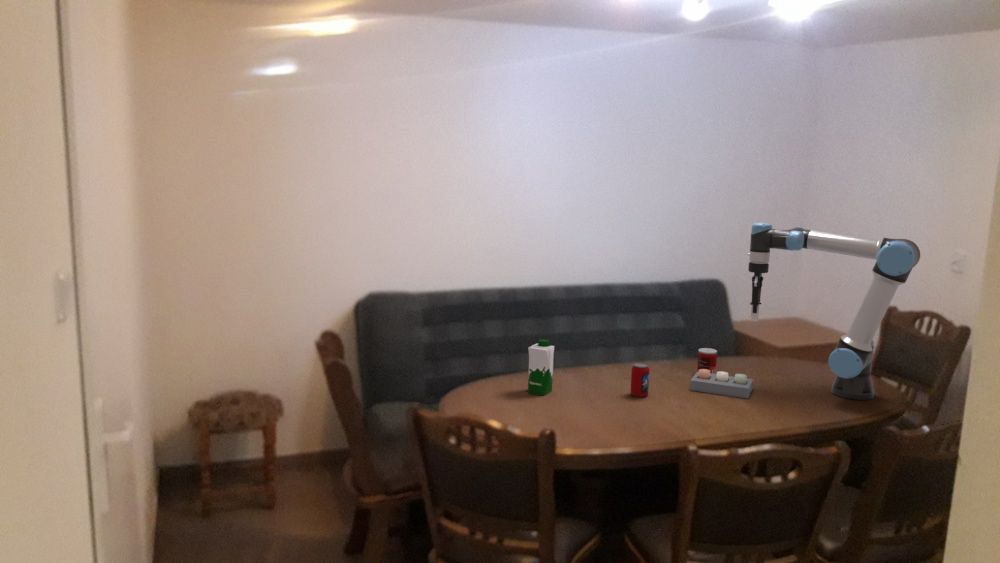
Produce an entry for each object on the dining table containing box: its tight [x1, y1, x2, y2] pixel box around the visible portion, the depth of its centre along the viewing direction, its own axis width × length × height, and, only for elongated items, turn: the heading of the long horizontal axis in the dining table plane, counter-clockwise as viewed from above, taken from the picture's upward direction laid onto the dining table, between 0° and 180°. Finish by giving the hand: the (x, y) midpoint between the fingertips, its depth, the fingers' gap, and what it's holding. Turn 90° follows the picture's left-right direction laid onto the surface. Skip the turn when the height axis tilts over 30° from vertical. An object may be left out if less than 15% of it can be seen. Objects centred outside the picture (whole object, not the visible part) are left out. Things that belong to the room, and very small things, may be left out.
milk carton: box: [527, 338, 555, 396], centre depth 296 cm, size 9×9×20 cm
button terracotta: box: [698, 369, 710, 380], centre depth 308 cm, size 4×4×5 cm
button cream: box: [716, 370, 729, 382], centre depth 305 cm, size 4×4×5 cm
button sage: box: [734, 373, 747, 385], centre depth 303 cm, size 4×4×5 cm
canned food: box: [696, 347, 718, 374], centre depth 324 cm, size 8×8×11 cm
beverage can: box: [630, 362, 651, 398], centre depth 296 cm, size 7×7×12 cm
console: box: [689, 371, 754, 400], centre depth 306 cm, size 22×14×4 cm, turn 65°
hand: (754, 320), depth 310 cm, fingers closed
